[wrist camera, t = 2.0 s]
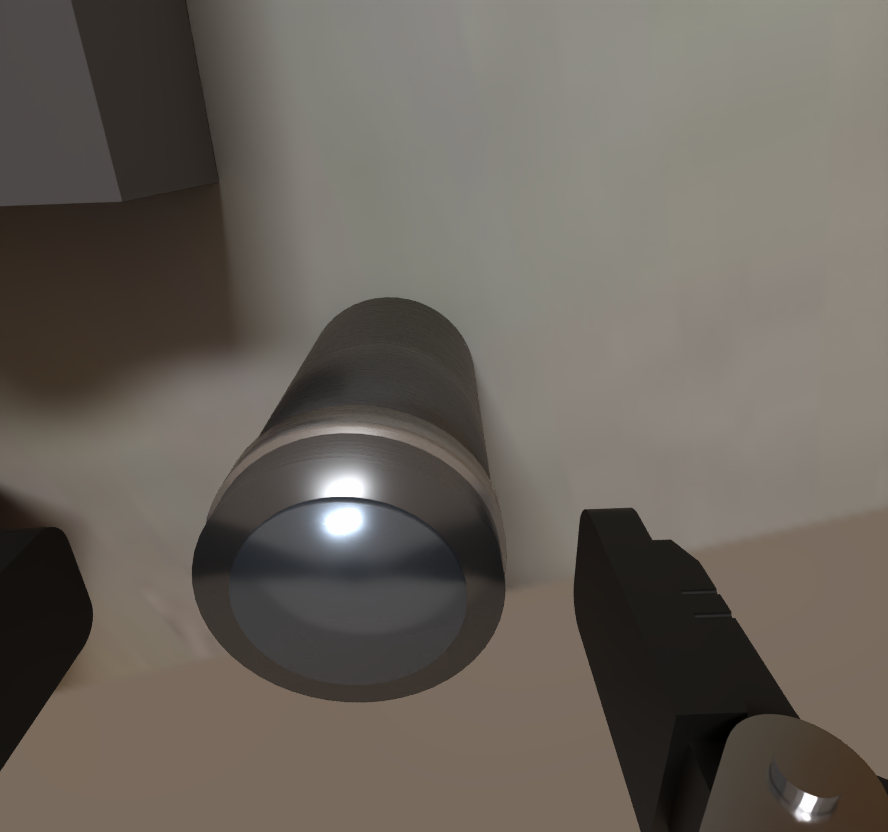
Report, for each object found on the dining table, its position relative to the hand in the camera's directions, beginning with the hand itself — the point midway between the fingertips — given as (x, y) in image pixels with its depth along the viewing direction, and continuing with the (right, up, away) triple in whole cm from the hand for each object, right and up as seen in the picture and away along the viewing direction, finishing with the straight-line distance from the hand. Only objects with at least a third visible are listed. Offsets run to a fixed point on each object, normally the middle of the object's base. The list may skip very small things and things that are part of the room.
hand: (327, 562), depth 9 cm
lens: (0, +3, +8) cm, 9 cm away
